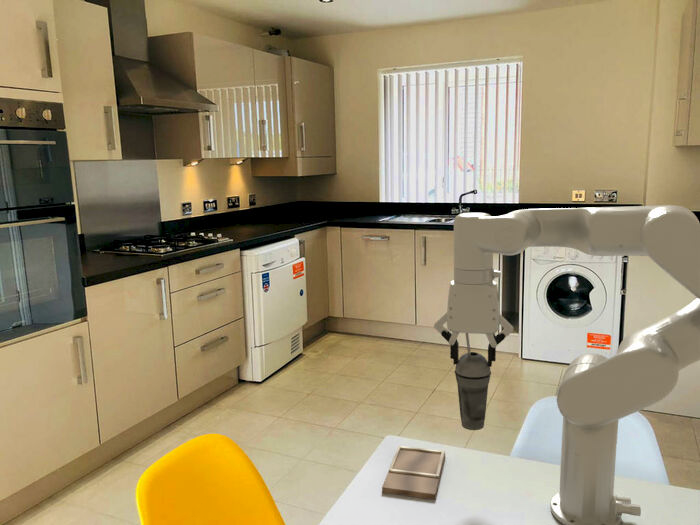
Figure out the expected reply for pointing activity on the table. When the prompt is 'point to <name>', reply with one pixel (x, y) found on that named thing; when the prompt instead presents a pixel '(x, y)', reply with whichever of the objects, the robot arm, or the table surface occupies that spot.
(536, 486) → the table surface
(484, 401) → the beverage cup
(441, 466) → the walnut board
